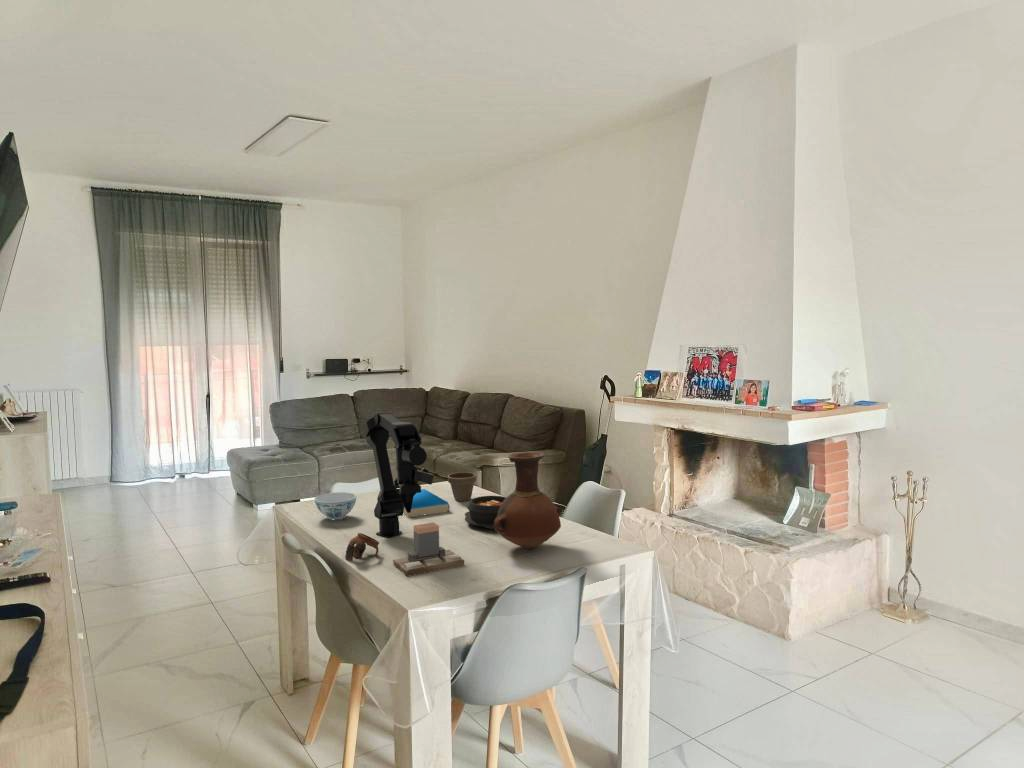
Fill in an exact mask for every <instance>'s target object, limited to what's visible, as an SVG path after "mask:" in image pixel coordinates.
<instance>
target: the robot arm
mask: <svg viewBox="0 0 1024 768" xmlns="http://www.w3.org/2000/svg"><path fill="white" fill-rule="evenodd" d="M362 430H363V431H362V432H363V436H364V438H365V441H366V443H367V444H368V446H369V447H370V448H371V449H372V452H373V456H374V457H373V458H374V463H375V467H376V468H375V469H376V472H377V473H376V474H377V479H378V484H379V492H378V495H377V498H376V499H377V503H376V505H375V507H374V509H373V513H374V517H375V518H377V519H378V520H379V521H378V522H379V523H378V525H379V531H377V532H376V533H375V534H376V535H377V536H382V537H385V538H391V537H395V536H397V535H400V534H401V535H402V534H403V531H402V530H400V521H399V517H400V516H401V517H402V516H404V514H403V511H404V507H405V509H406V511H407V513H410V512H411V507H412V502H413V497H414V495H415V494H416V493H420V492H421V489H422V486H421V485H420V484H419V482H421V483H425V484H427V485H431V486H432V484H433V481H434V478H435V474H433V473H430V472H429V469H428V468H425V467H423V468H422V469H421V470H420V469H418V466H422V465H423V464H425V462H426V460H427V452H426V450H425V449H424V448H423V447H421V445H422V436H421V435H420V432H419V430H418V429H417V426H415V424H414V423H413V422H407V421H406V422H405V421H401V420H400V419H398V418H397V417H395V416H393V415H392V413H391V412H389V411H381V412H376V413H375V414H374V415H373V416H372V417H371V418H369V420H367V421H365V424H364V426H363V429H362ZM390 438H391V439H392V441H393V443H394V447H393V448H394V449H395V458H396V459H395V460H396V467H395V469H396V471H397V472H396V474H397V476H396V479H395V480H394V478H393V473H392V468H391V463H390V457H389V452H388V448H387V447H388V446H387V444H388V442H389V439H390ZM398 487H399V488H398Z"/></svg>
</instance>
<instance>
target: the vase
mask: <svg viewBox="0 0 1024 768" xmlns="http://www.w3.org/2000/svg"><path fill="white" fill-rule="evenodd" d="M507 457H508V459H509V462H511V463H514V466H515V476H516V477H515V478H516V483H515V488H514V491H513V492H512V493H509V495H507V496H505V497H506V498H505V500H504V501H503V502H502V504H501V506H500V508H499V511H498V515H497V518H496V519H495V520H494V529H493V530H495V532H496V533H497V534H498V535H500V536H501V537H503V539H504V540H506V541H509V542H510V543H512V544H514V545H517V546H520V547H521V548H524V549H526V550H533V549H536V548H537V547H539V546H541V545H542V544H544V543H545V542H547V541H548V540H550V539H551V538H552V537H553V536H554V535H556V534H557V533H558V531H559V530H560V529H561V527H562V524H561V520H560V519H561V518H560V516H561V509H560V508H559V507H558V506H556V505H555V503H554V501H553V500H552V499H551V498H550V497H549V496H548V495H547V494H546V493H544V492H543V491H541V490H540V489H539V485H538V473H539V462H540V460H541V459H543V458H544V457H545V453H542V452H538V451H524V452H523V451H522V452H515V453H514V452H513V453H511V454H509V455H508V456H507Z"/></svg>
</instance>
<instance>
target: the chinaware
mask: <svg viewBox="0 0 1024 768" xmlns="http://www.w3.org/2000/svg"><path fill="white" fill-rule="evenodd" d="M356 501H357V494H355V493H353V492H347V491H346V492H345V491H344V492H343V491H340V492H339V491H337V492H335V491H334V492H328V493H324V494H320V495H317V496H316V497H314V503H315V506H316V508H317V509H318V511H319V512H320V513H321V514H322V515H323V516H325V517H326V519H327V518H328V519H341V520H343V519H342V518H344V519H346V516H347V515H348V514H349V513H350V512H351V511H352V510H353V509H354V506H355V504H356ZM328 519H327V520H328Z"/></svg>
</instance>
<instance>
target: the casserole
mask: <svg viewBox="0 0 1024 768" xmlns="http://www.w3.org/2000/svg"><path fill="white" fill-rule="evenodd" d="M506 497H507V496H501V495H484V496H477V497H474V498H471V499H470V500H469V502H468V505H467V506H466V509H467V510H468V511H467V512H465V513H464V516H465V517H464V520H465V522H466V523H467V524H470V525H471V526H472V525H473V526H476V527H480V528H484V527H485V528H487V529H491V530H495V529H494V520H495V519H496V518H497V515H498V511H499V508H500V506H501V504H502V502H503V501H504V500H505V498H506Z"/></svg>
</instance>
